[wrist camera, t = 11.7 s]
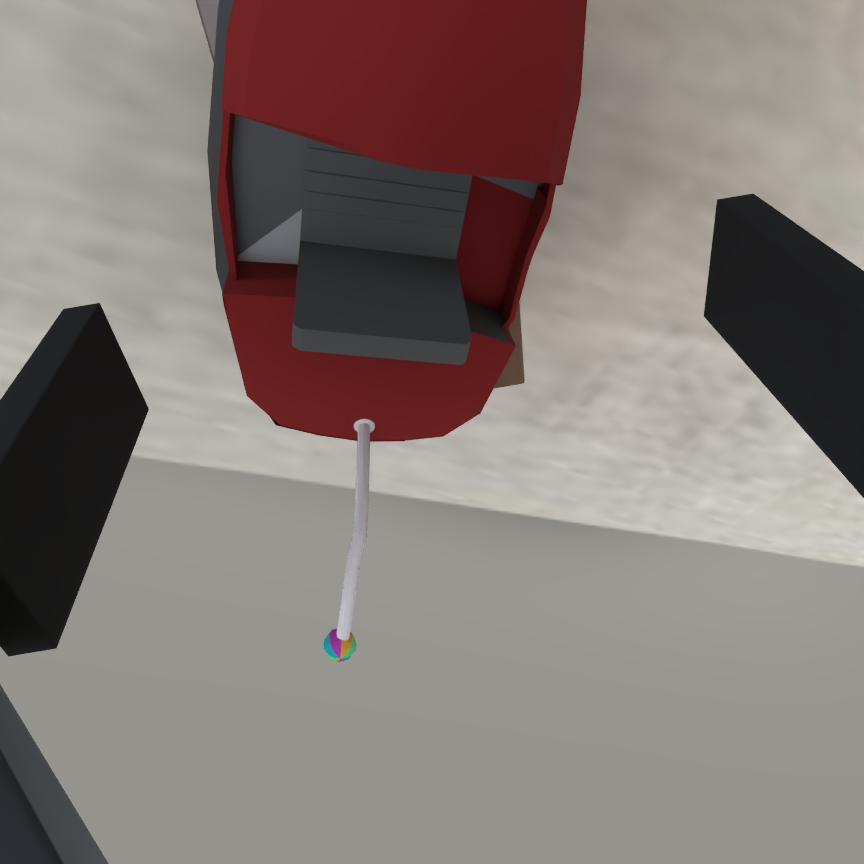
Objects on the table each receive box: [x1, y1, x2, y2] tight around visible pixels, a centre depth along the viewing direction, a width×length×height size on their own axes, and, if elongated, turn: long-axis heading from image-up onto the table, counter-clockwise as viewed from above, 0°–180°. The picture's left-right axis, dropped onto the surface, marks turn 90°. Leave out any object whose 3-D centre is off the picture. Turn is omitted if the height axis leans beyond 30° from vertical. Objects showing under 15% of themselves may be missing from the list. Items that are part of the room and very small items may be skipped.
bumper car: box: [208, 0, 587, 662], centre depth 18 cm, size 10×20×10 cm, turn 170°
